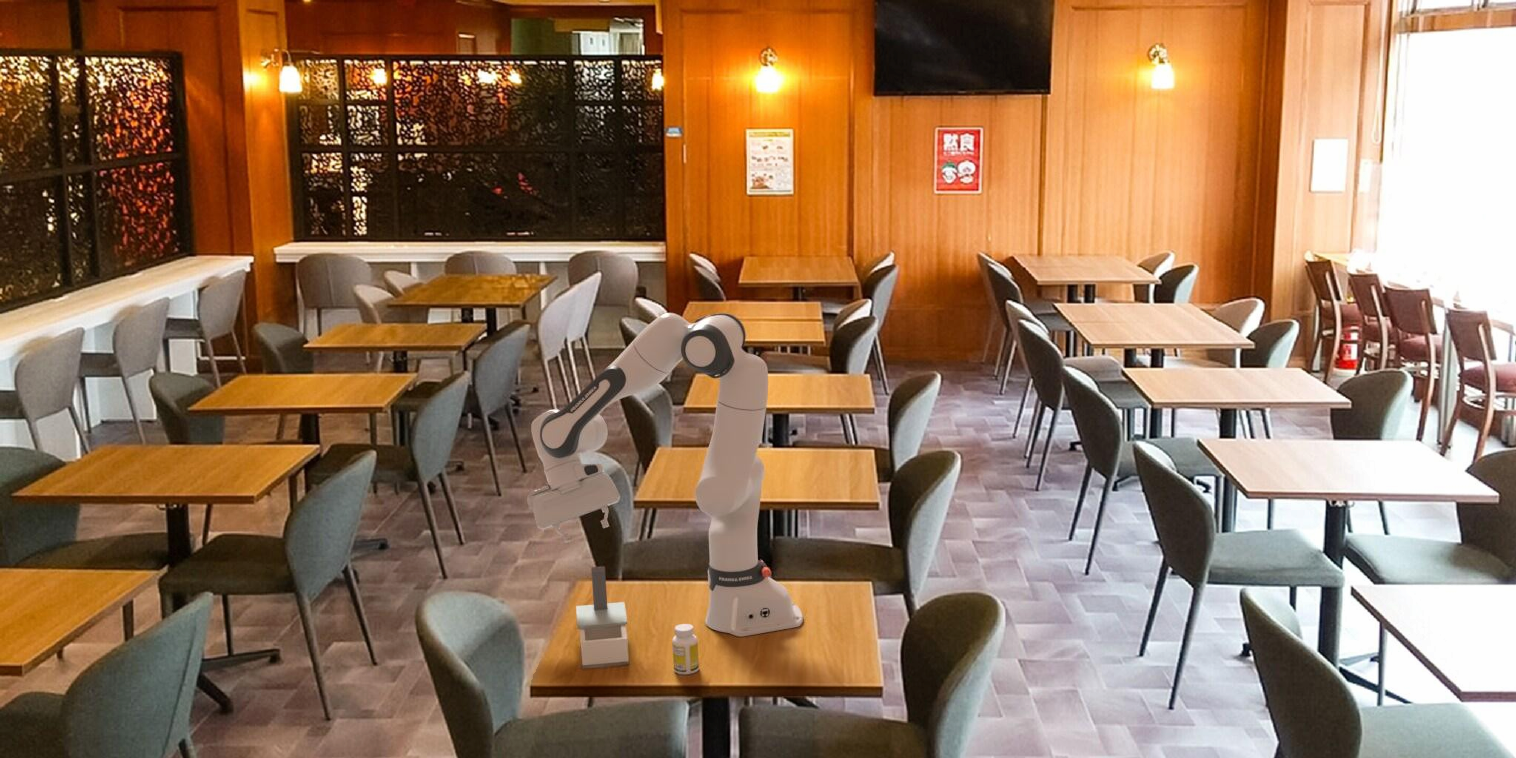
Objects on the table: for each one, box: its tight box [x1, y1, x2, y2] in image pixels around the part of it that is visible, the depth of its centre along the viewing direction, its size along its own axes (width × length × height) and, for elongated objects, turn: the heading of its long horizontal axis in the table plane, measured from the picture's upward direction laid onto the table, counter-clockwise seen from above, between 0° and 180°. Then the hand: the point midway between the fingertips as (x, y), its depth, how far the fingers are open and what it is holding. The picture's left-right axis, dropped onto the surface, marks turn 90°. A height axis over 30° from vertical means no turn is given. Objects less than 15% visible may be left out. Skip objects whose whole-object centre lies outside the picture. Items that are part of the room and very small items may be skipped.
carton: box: [579, 625, 630, 670], centre depth 315 cm, size 11×10×6 cm
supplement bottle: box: [671, 623, 700, 676], centre depth 307 cm, size 5×5×10 cm
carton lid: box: [575, 566, 628, 630], centre depth 321 cm, size 12×11×10 cm
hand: (587, 534), depth 333 cm, fingers open, 8 cm apart
